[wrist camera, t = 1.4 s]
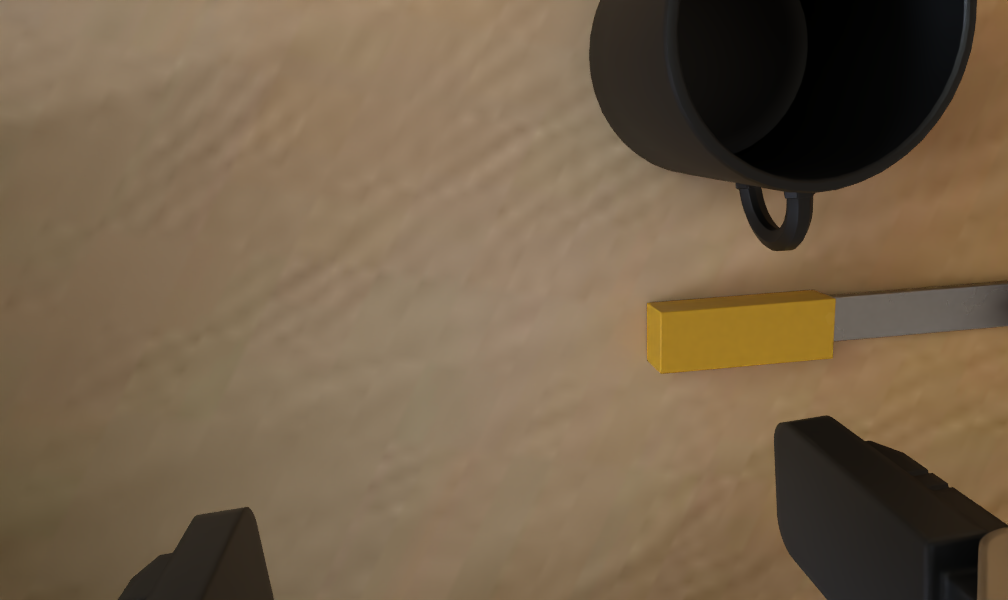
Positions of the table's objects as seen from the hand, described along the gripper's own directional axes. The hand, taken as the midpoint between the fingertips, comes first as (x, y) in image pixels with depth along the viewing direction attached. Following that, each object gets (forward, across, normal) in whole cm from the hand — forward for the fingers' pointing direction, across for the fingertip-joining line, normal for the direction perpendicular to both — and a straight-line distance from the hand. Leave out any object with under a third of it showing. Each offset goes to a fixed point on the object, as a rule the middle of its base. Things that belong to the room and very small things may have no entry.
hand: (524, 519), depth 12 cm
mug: (+20, -11, -6) cm, 24 cm away
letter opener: (+21, -17, +5) cm, 27 cm away
